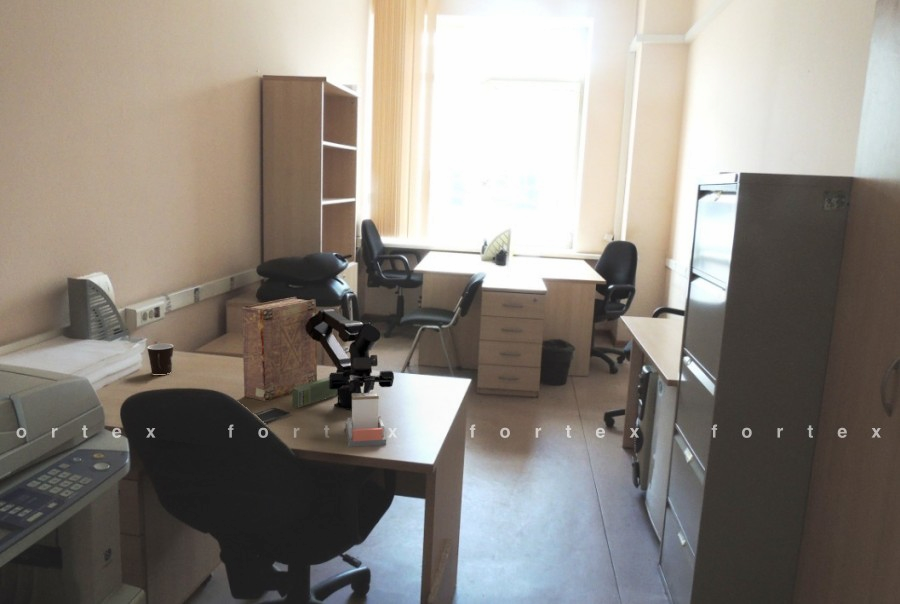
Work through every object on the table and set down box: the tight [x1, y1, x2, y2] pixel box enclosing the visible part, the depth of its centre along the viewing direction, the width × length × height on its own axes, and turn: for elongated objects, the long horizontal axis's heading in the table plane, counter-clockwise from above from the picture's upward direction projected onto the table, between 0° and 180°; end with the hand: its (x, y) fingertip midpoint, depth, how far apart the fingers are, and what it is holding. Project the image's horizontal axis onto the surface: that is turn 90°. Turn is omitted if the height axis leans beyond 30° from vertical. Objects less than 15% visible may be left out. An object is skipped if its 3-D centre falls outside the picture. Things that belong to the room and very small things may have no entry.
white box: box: [351, 392, 380, 430], centre depth 178 cm, size 3×7×10 cm, turn 103°
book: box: [241, 296, 318, 402], centre depth 215 cm, size 25×9×30 cm, turn 151°
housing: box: [344, 415, 387, 448], centre depth 178 cm, size 14×10×4 cm
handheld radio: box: [291, 376, 338, 409], centre depth 209 cm, size 7×3×25 cm
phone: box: [255, 407, 291, 425], centre depth 189 cm, size 8×1×15 cm
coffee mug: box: [146, 343, 174, 374], centre depth 229 cm, size 12×9×10 cm
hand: (363, 406), depth 183 cm, fingers closed
